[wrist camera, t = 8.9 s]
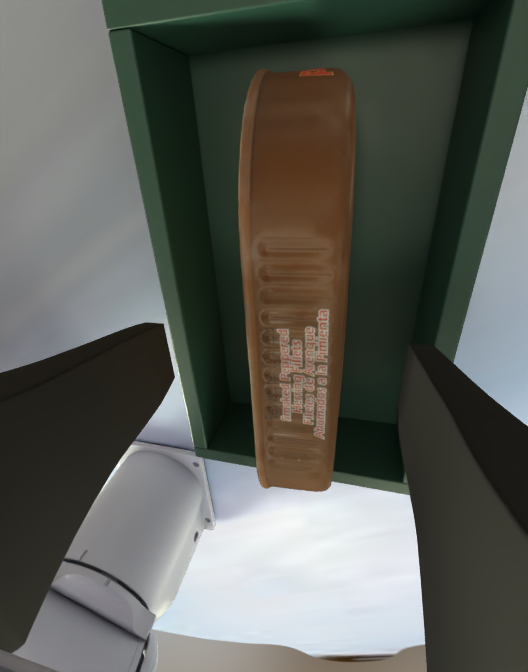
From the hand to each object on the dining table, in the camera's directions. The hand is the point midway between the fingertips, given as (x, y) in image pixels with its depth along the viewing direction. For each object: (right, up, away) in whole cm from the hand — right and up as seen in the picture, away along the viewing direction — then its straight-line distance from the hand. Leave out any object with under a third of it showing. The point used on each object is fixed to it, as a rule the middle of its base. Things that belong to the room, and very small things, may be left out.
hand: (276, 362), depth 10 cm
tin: (+2, +4, +7) cm, 8 cm away
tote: (+2, +4, +7) cm, 8 cm away
